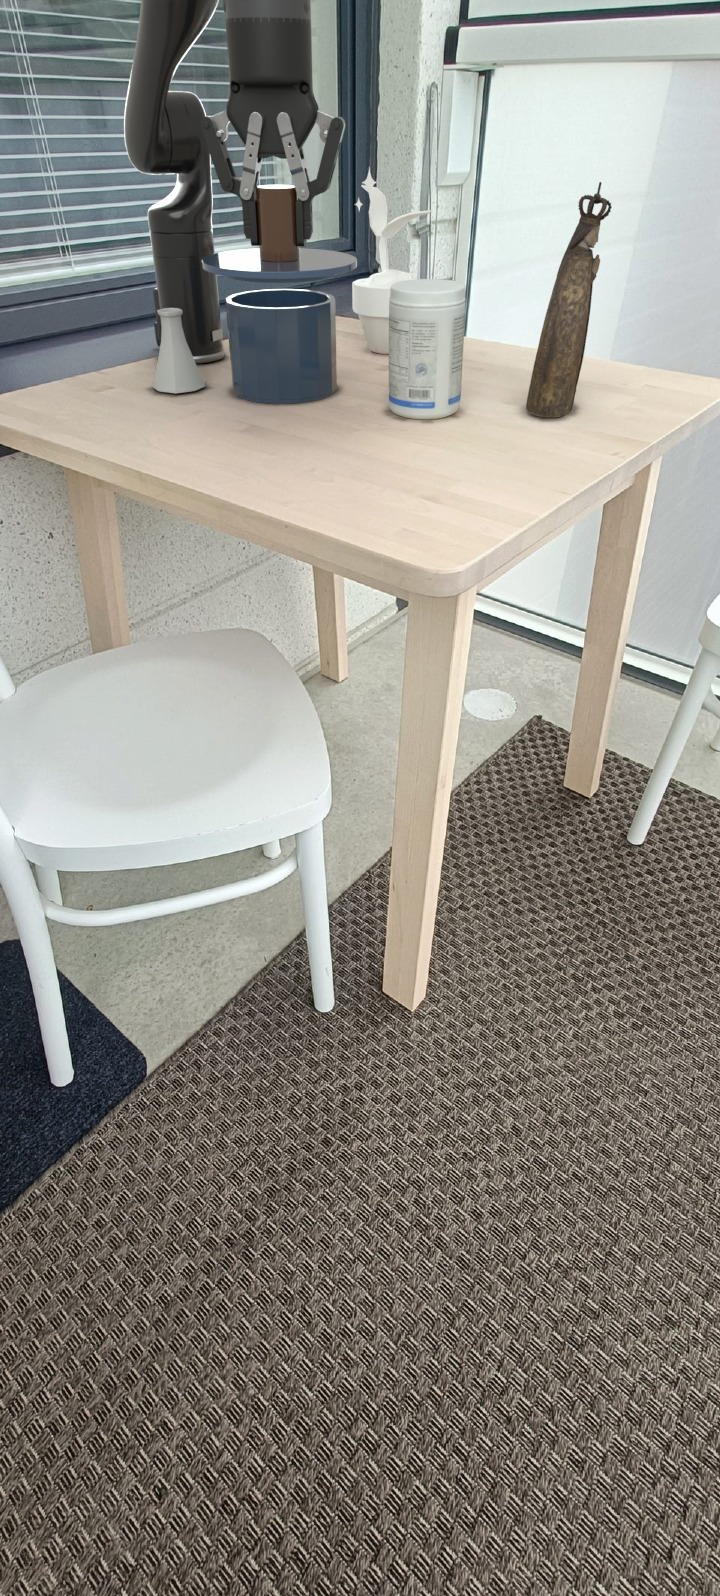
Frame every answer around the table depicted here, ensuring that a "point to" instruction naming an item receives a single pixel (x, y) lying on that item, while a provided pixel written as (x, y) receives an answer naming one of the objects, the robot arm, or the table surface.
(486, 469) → the table surface
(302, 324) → the canister
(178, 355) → the flask
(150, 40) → the robot arm
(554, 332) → the statue
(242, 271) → the lid
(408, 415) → the supplement tub
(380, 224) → the potted plant
